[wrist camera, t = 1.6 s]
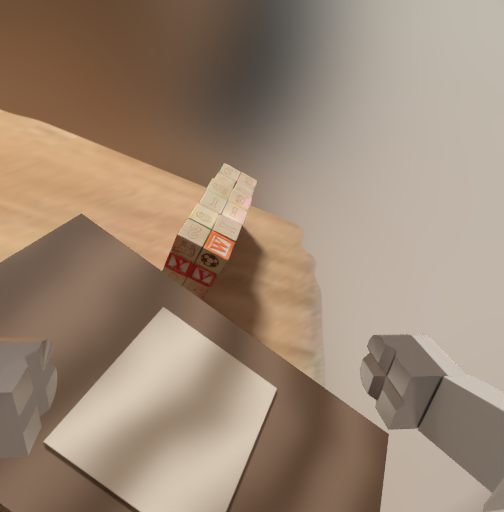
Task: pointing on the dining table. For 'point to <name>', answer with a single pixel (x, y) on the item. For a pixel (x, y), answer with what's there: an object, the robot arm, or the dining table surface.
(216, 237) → the stack of blocks
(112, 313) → the cubby
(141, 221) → the dining table surface
